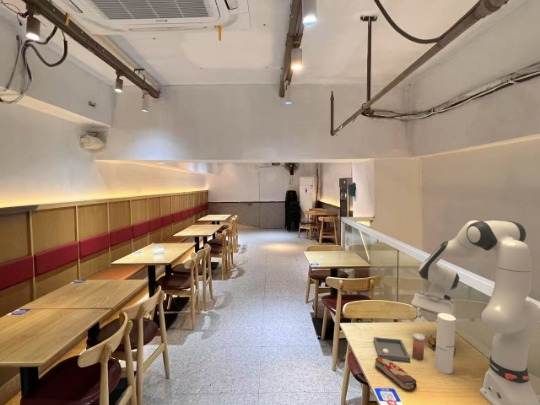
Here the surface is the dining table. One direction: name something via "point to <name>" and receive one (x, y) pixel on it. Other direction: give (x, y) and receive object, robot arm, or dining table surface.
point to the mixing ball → (385, 351)
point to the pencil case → (396, 373)
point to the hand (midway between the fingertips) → (428, 320)
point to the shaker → (418, 346)
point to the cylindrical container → (445, 343)
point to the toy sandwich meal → (434, 343)
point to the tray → (392, 349)
